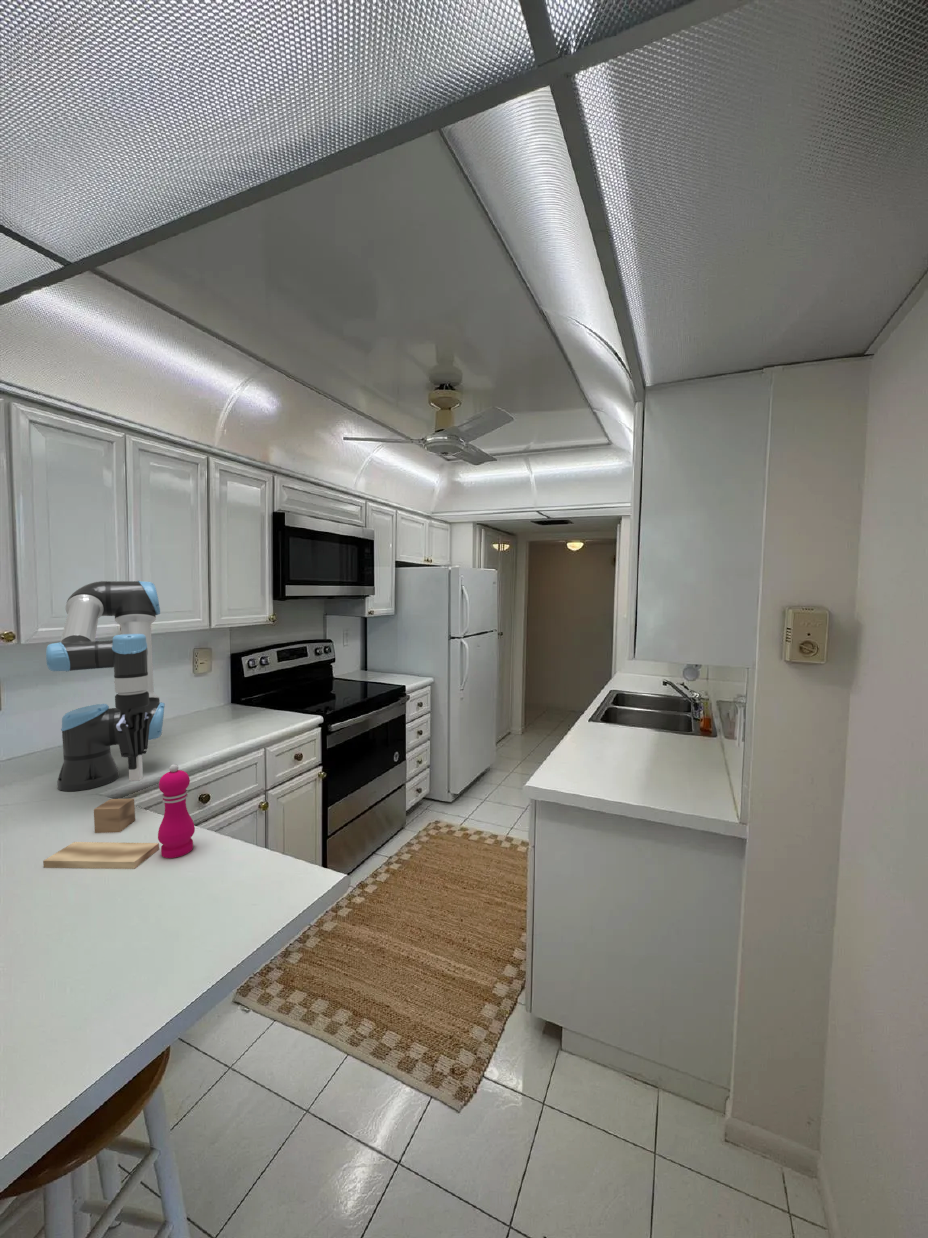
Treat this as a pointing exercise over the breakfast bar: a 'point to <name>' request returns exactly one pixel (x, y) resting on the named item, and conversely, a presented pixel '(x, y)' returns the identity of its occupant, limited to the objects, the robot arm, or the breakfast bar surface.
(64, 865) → the oak board
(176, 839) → the pepper mill
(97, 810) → the walnut block
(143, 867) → the breakfast bar surface
